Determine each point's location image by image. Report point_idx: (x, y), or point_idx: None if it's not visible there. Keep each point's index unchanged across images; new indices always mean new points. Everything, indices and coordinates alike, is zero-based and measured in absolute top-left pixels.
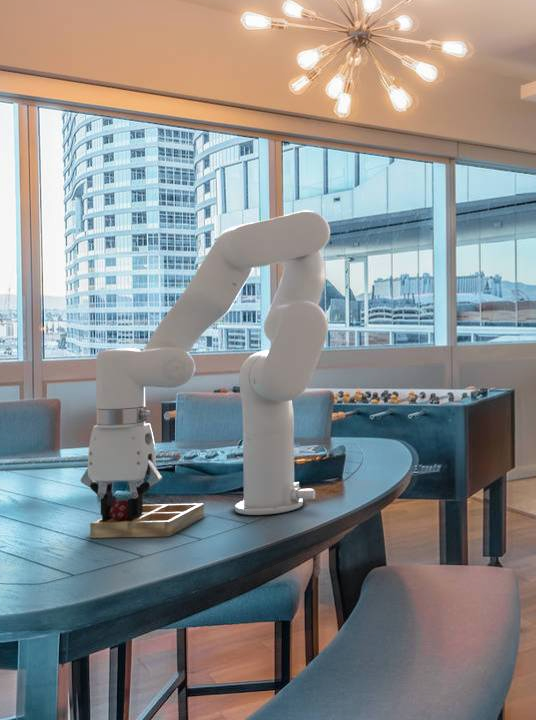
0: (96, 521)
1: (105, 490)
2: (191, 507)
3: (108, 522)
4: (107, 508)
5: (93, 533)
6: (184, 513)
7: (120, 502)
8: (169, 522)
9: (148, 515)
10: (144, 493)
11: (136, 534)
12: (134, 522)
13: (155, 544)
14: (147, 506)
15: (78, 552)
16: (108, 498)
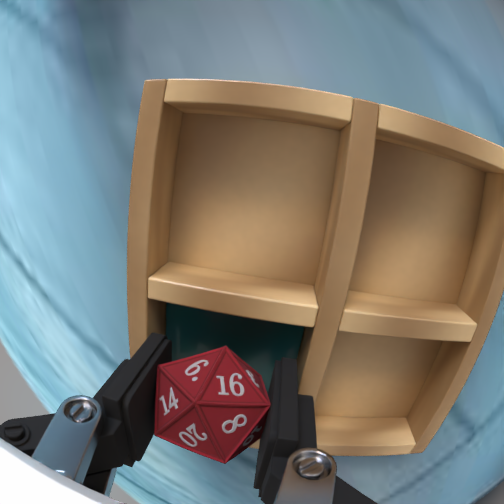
0: None
1: (108, 490)
2: (483, 164)
3: None
4: (153, 427)
5: None
6: (478, 355)
7: (205, 455)
8: (422, 449)
9: (331, 349)
10: (329, 464)
11: None
12: None
13: (377, 469)
14: (247, 107)
15: (207, 484)
16: (128, 444)
